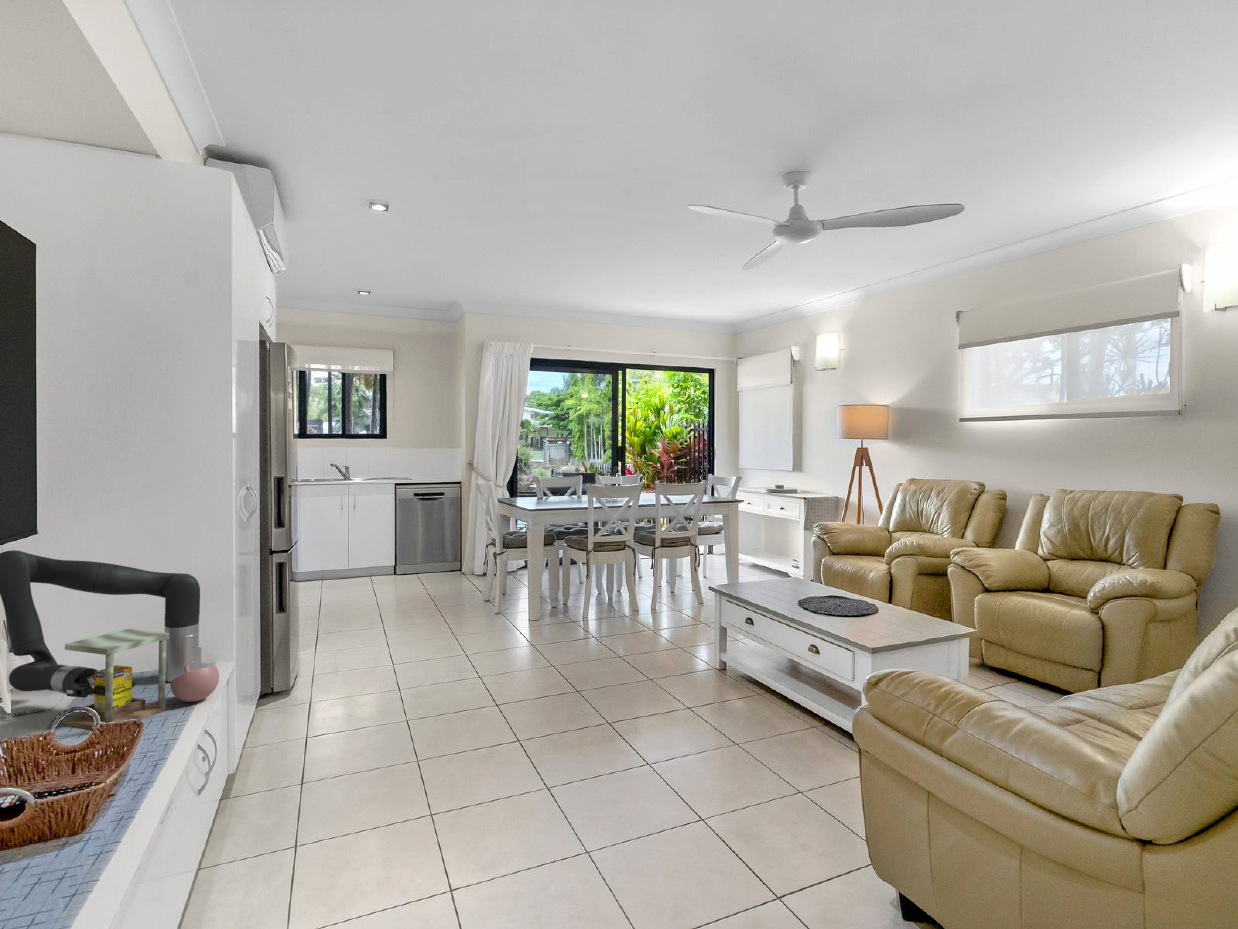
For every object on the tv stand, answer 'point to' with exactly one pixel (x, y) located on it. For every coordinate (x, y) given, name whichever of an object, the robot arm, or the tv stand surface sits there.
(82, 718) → the small green table
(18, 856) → the tv stand surface
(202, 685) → the mortar and pestle
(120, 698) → the supplement box
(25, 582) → the robot arm
